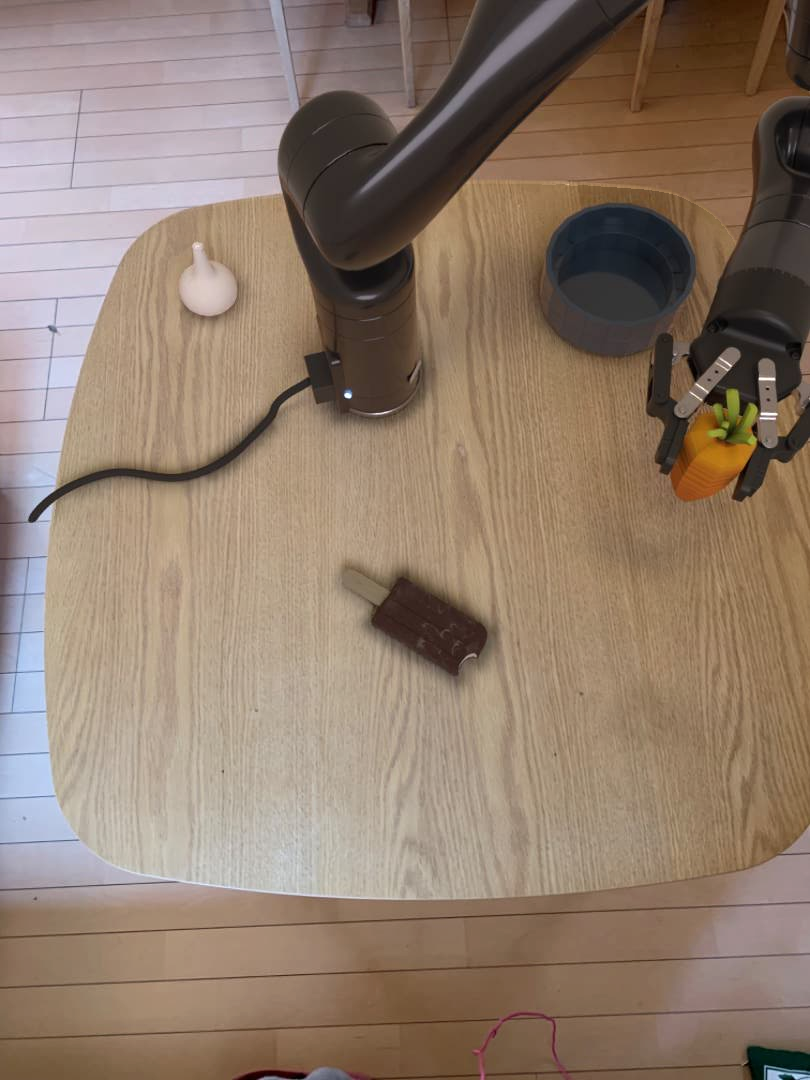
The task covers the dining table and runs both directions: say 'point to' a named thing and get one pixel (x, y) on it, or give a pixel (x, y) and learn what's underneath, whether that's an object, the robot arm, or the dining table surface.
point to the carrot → (714, 450)
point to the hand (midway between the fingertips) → (703, 482)
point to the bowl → (616, 278)
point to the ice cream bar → (421, 621)
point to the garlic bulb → (207, 285)
